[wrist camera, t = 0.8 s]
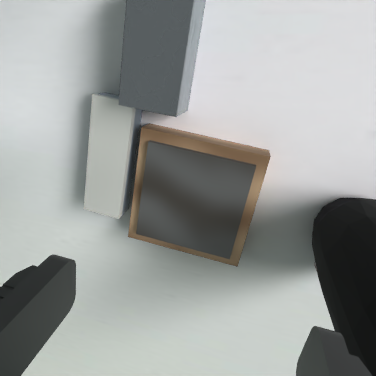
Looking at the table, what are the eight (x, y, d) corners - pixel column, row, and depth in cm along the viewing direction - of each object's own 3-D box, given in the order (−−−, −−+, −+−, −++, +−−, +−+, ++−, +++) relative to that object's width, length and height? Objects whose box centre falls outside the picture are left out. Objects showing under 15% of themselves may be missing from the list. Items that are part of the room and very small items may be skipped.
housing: (151, -19, 26) (129, -39, 21) (207, -10, 25) (198, -29, 21) (138, 100, 30) (118, 104, 25) (188, 110, 29) (176, 116, 24)
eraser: (106, 92, 30) (92, 94, 27) (144, 101, 30) (133, 104, 27) (97, 198, 35) (83, 209, 32) (129, 207, 34) (118, 219, 32)
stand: (149, 123, 30) (139, 128, 27) (268, 150, 29) (270, 158, 26) (135, 226, 35) (126, 239, 32) (238, 253, 33) (237, 270, 30)
